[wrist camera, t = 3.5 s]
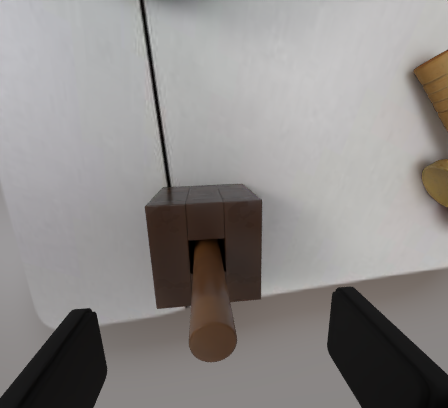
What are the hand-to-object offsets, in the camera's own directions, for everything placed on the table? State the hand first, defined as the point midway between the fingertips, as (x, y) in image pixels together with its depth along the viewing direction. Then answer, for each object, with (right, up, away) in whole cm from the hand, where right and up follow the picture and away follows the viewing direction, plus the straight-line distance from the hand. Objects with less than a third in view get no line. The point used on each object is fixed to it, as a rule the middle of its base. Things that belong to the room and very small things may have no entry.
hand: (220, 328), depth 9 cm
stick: (-2, +3, +13) cm, 13 cm away
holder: (-2, +3, +13) cm, 13 cm away
